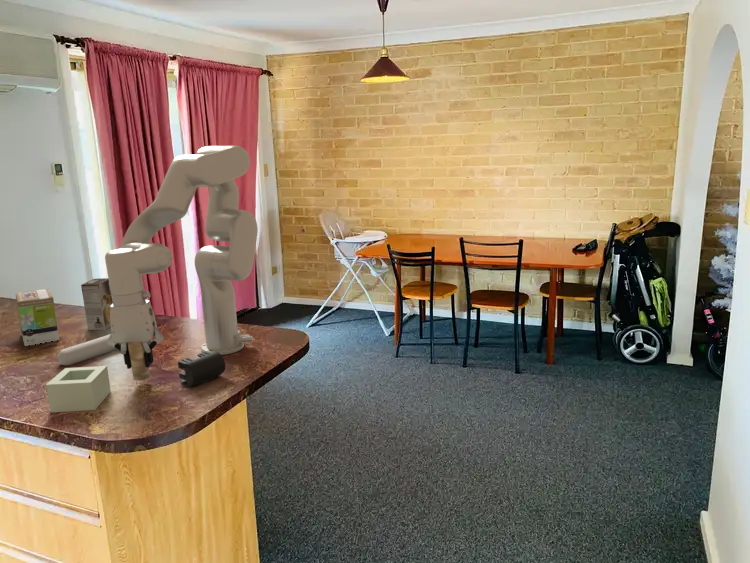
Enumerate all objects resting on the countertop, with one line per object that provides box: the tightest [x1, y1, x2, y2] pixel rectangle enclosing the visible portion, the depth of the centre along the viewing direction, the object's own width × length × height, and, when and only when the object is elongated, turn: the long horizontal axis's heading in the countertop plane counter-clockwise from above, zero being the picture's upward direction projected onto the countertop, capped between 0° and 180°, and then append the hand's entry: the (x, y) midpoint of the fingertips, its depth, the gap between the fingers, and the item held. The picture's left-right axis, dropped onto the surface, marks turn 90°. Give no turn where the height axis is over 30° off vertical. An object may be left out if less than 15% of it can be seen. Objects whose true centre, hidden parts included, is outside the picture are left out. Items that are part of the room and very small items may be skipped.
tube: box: [56, 333, 117, 367], centre depth 168 cm, size 5×5×25 cm
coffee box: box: [80, 277, 113, 331], centre depth 192 cm, size 9×6×16 cm
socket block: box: [45, 365, 112, 413], centre depth 135 cm, size 10×10×7 cm
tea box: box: [15, 288, 60, 347], centre depth 182 cm, size 15×10×15 cm
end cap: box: [177, 352, 226, 388], centre depth 146 cm, size 10×7×7 cm
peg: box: [128, 342, 151, 381], centre depth 143 cm, size 4×4×12 cm
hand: (139, 365), depth 144 cm, fingers closed on peg, 4 cm apart
